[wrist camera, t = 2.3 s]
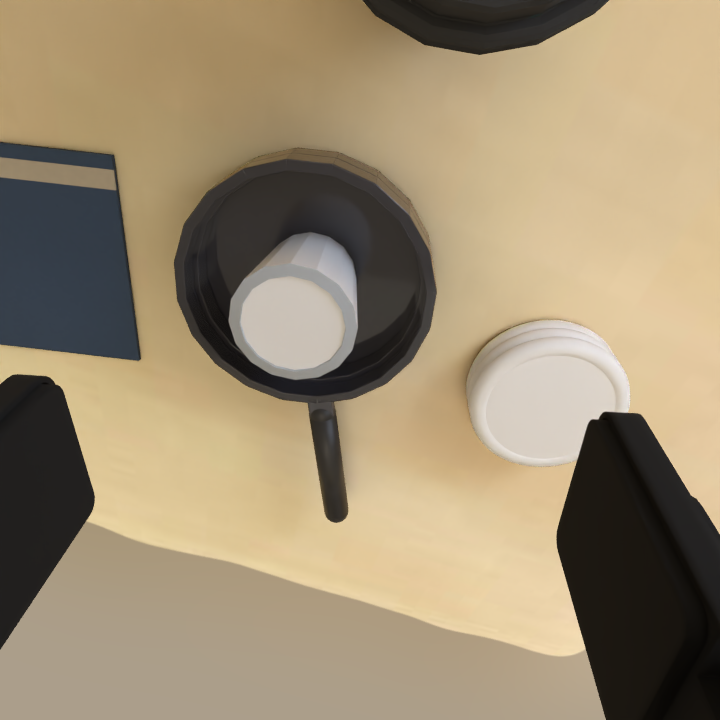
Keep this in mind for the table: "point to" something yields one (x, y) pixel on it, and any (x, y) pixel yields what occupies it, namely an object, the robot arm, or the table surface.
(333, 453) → the pan handle
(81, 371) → the table surface
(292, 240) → the white cup
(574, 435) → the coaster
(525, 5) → the coffee cup
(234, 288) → the pan
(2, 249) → the cloth
